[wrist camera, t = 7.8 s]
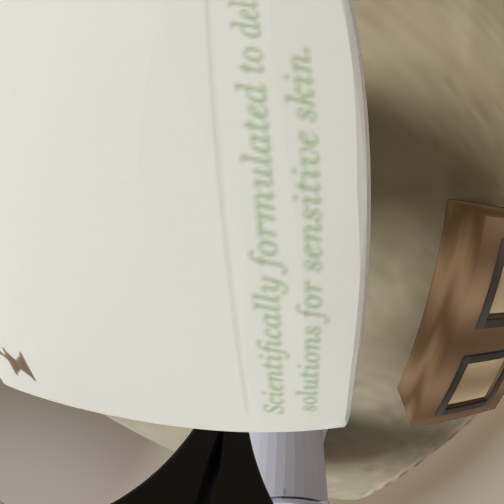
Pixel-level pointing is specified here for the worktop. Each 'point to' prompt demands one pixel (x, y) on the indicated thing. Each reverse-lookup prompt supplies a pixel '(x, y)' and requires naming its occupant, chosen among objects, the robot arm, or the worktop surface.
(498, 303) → the peg
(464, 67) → the worktop surface
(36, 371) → the skincare box
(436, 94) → the worktop surface
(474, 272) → the walnut block
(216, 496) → the robot arm
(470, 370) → the peg
